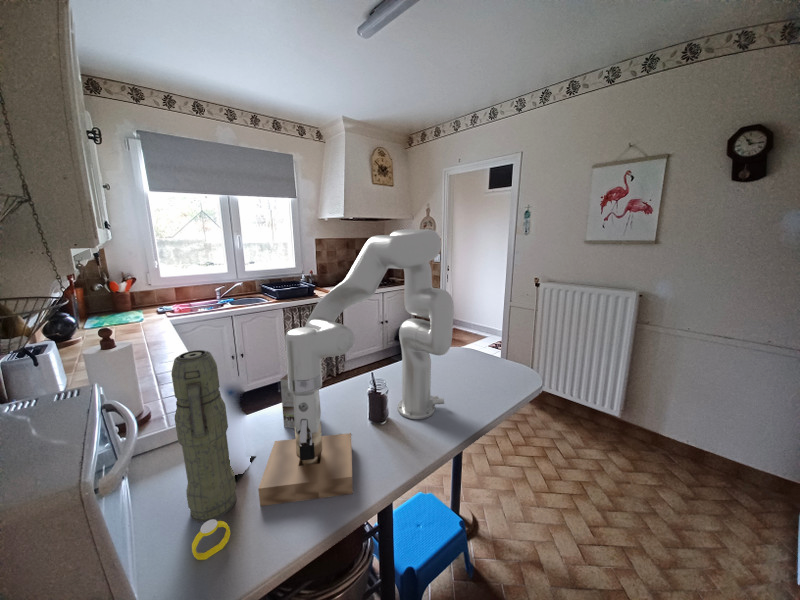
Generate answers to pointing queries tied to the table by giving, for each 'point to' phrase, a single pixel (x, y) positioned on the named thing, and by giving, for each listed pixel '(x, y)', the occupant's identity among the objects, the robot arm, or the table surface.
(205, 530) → the watch
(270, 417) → the table surface
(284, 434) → the table surface
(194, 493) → the thermos
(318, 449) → the peg
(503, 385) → the table surface
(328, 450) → the board
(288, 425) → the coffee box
